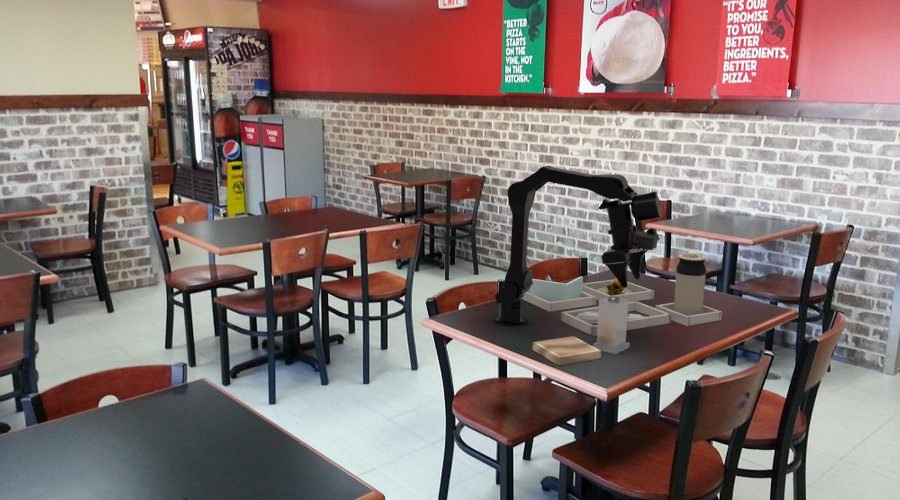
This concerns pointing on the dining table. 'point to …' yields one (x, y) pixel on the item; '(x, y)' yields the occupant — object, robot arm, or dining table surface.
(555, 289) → the right angle wall
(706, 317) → the mug tray rim
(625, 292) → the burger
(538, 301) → the coaster tray rim
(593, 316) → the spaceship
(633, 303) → the casing tray rim
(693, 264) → the travel mug
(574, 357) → the stand
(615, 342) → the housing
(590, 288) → the tray
